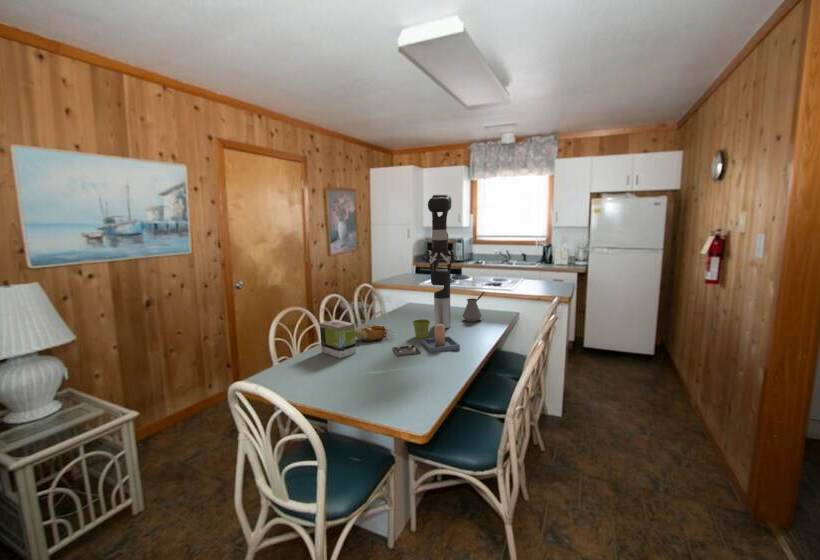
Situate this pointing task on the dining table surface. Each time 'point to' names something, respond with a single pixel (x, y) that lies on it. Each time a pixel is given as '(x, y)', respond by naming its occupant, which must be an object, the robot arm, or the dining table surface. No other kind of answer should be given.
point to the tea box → (338, 338)
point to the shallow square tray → (449, 345)
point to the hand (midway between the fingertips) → (440, 271)
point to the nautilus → (372, 332)
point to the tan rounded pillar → (439, 335)
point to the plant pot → (421, 328)
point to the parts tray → (406, 350)
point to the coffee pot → (472, 310)
